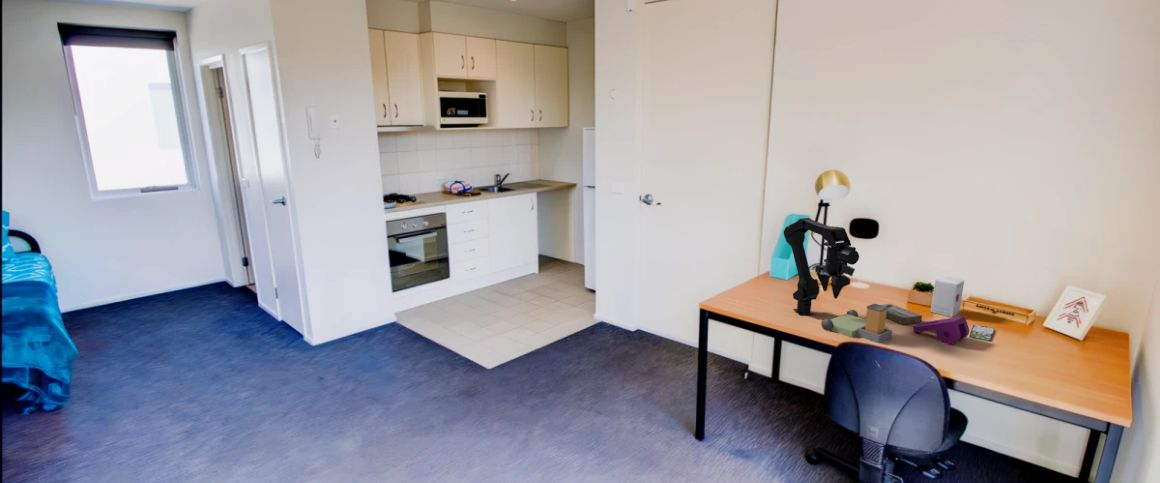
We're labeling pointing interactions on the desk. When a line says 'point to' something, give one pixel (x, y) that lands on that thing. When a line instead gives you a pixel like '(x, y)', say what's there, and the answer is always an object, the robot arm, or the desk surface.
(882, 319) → the tan rectangular column
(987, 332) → the mottled grey green block
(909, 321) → the box
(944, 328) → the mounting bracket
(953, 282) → the supplement box
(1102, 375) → the desk surface
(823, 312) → the desk surface
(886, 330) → the green slab with frame
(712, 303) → the desk surface
